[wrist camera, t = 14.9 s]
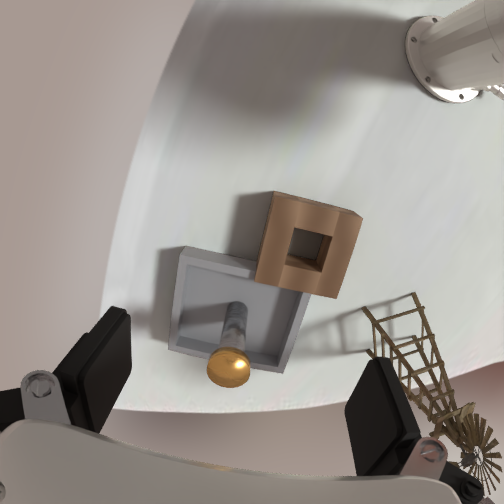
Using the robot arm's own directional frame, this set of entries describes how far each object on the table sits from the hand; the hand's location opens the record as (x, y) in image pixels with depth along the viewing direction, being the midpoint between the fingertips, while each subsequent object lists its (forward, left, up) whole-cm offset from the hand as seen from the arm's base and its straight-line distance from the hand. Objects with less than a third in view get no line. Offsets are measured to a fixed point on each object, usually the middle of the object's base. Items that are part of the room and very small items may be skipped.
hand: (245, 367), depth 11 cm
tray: (0, +13, -28) cm, 31 cm away
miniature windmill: (-22, +11, -28) cm, 38 cm away
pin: (0, +13, -27) cm, 30 cm away
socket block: (-6, +2, -28) cm, 29 cm away
